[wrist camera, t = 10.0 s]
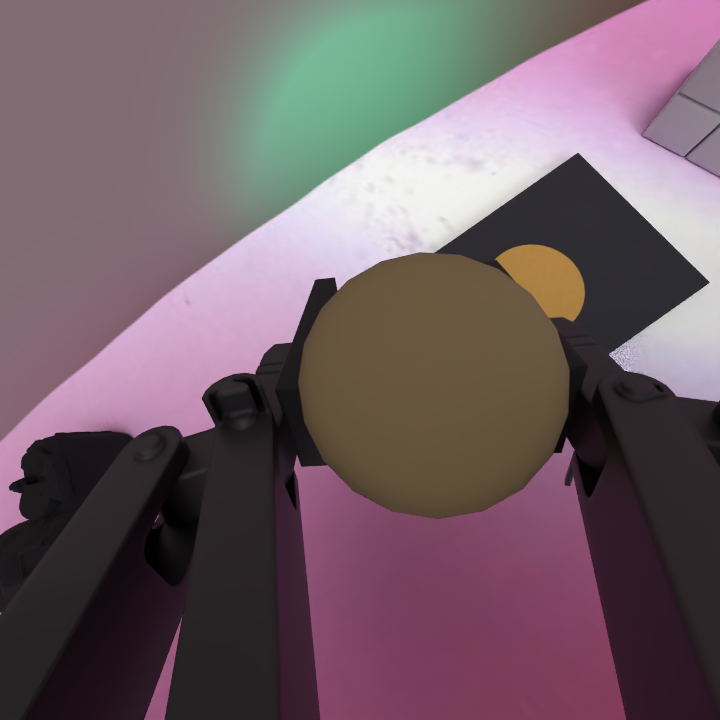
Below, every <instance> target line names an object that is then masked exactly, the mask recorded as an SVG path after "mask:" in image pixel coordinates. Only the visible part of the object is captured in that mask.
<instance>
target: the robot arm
mask: <svg viewBox="0 0 720 720" xmlns="http://www.w3.org/2000/svg"><path fill="white" fill-rule="evenodd" d="M481 263H484V264H486V265H489V266H492V267H495V268H497V269H499V270H500V271H502V272H503V273H504V274H506V275H507V276H508V277H510V278H511V279H512V280H514V279H513V278H512V277H511V276H510V275H509V273H508V272H507V271H506V270H505V269H504V268H503V267H502V265H501V264H500V263H499V262H498V261H497V260H490V261H481ZM514 281H515V280H514ZM336 292H337V287H336V281H335V278H326V279H317V280H315V282H314V285H313V288H312V291H311V293H310V296H309V299H308V301H307V304H306V307H305V309H304V312H303V315H302V318H301V320H300V323H299V326H298V328H297V331H296V334H295V337H294V339H293V342H292V343H284V344H275V345H273V346H272V347H271V348H270V349H269V350H268V351H267V352H266V353H265V354H264V356H263V358H262V360H261V362H260V366H258V368H257V371H256V375H254V374H249V373H240V374H233V375H230V376H228V377H225V378H222V379H221V380H219V381H217V382H215V383H214V384H212V385H211V386H210V387H209V388H208V389H207V390H206V391H205V393H204V395H203V397H202V400H203V402H204V404H205V406H206V408H207V410H208V412H209V414H210V416H211V418H212V420H213V421H214V423H215V427H214V428H212V429H209V430H206V431H203V432H200V433H197V434H193V435H190V436H187V437H183V436H182V434H181V433H180V431H179V430H178V429H177V428H175V427H173V426H160V427H156V428H152V429H150V430H148V431H145V432H143V433H141V434H140V435H138V436H137V437H135V438H134V439H132V440H131V441H130V442H129V443H128V444H127V445H126V446H125V447H124V448H123V449H122V451H121V452H120V453H119V455H118V456H117V457H116V459H115V460H114V461H113V463H112V464H111V465H110V467H109V468H108V470H107V471H106V472H105V474H104V475H103V476H102V478H101V479H100V480H99V482H98V483H97V484H96V486H95V487H94V488H93V490H92V491H91V493H90V494H89V495H88V497H87V498H86V499H85V501H84V502H83V503H82V505H81V506H80V507H79V509H78V510H77V512H76V513H75V514H74V516H73V517H72V518H71V520H70V521H69V522H68V524H67V525H66V526H65V528H64V529H63V531H62V532H61V533H60V535H59V536H58V537H57V539H56V540H55V541H54V543H53V544H52V545H51V547H50V548H49V550H48V551H47V552H46V554H45V555H44V556H43V558H42V559H41V560H40V562H39V563H38V564H37V566H36V567H35V569H34V570H33V571H32V573H31V574H30V575H29V577H28V578H27V579H26V581H25V582H24V583H23V585H22V586H21V588H20V589H19V590H18V592H17V593H16V594H15V596H14V597H13V598H12V600H11V601H10V602H9V604H8V605H7V607H6V608H5V609H4V611H3V612H2V613H1V615H0V720H144V718H145V715H146V712H147V710H148V707H149V704H150V702H151V699H152V696H153V693H154V691H155V688H156V685H157V683H158V680H159V677H160V674H161V672H162V669H163V666H164V664H165V661H166V658H167V655H168V653H169V650H170V647H171V645H172V642H173V639H174V636H175V634H176V631H177V628H178V626H179V623H180V620H181V617H182V622H181V628H180V633H179V639H178V645H177V651H176V657H175V662H174V668H173V674H172V680H171V686H170V691H169V697H168V703H167V709H166V715H165V720H320V712H319V702H318V691H317V680H316V670H315V659H314V649H313V638H312V627H311V617H310V606H309V596H308V585H307V575H306V564H305V553H304V543H303V532H302V522H301V511H300V501H299V490H298V480H297V477H296V474H295V471H294V465H295V460H296V456H297V455H298V458H299V461H300V464H301V467H304V466H323V465H327V464H326V463H325V462H324V460H323V459H322V457H321V455H320V453H319V451H318V449H317V447H316V445H315V443H314V441H313V439H312V437H311V435H310V433H309V431H308V429H307V427H306V425H305V423H304V417H303V410H302V404H301V398H300V391H299V385H298V380H299V374H300V367H301V360H302V354H303V347H304V343H305V341H306V339H307V337H308V335H309V333H310V330H311V328H312V326H313V324H314V322H315V320H316V318H317V316H318V314H319V312H320V310H321V308H322V307H323V306H324V305H325V304H326V303H327V302H328V301H329V300H330V299H331V298H332V297H333V296H334V295H335V294H336ZM549 319H550V320H551V322H552V323H553V324H554V326H555V327H556V329H557V331H558V335H559V338H560V341H561V344H562V347H563V351H564V354H565V357H566V360H567V363H568V367H569V370H570V373H569V408H568V416H567V419H566V421H565V424H564V426H563V429H562V431H561V434H560V437H559V439H558V442H557V444H556V447H555V449H554V452H553V453H561V452H562V449H563V446H564V443H565V440H566V436H567V438H568V440H569V441H570V443H571V445H572V446H573V448H574V449H575V451H574V453H573V456H572V459H571V462H570V465H569V468H568V471H567V474H566V477H565V485H566V486H570V484H571V481H572V478H573V476H574V480H575V485H576V490H577V494H578V499H579V503H580V508H581V513H582V517H583V522H584V526H585V531H586V536H587V540H588V545H589V549H590V554H591V559H592V563H593V568H594V572H595V577H596V582H597V586H598V591H599V595H600V600H601V605H602V609H603V614H604V618H605V623H606V628H607V632H608V637H609V641H610V646H611V651H612V655H613V660H614V664H615V669H616V674H617V678H618V683H619V687H620V692H621V697H622V701H623V706H624V710H625V715H626V720H720V401H719V402H715V401H707V400H699V399H691V398H683V397H677V396H675V394H674V393H673V392H672V391H671V390H670V389H669V388H668V387H667V386H666V385H665V384H663V383H661V382H660V381H658V380H656V379H654V378H652V377H649V376H646V375H643V374H639V373H633V372H627V371H624V370H623V369H622V368H621V367H620V366H619V365H618V364H617V363H616V362H615V361H614V360H613V359H612V358H611V357H610V356H609V355H608V354H607V353H606V352H605V351H604V350H603V349H602V348H601V347H600V346H599V345H597V343H596V342H595V341H594V340H593V339H592V338H591V337H589V336H588V334H587V333H586V332H585V331H584V330H583V329H582V328H581V327H580V326H579V325H578V324H576V323H574V322H572V321H570V320H568V319H566V318H564V317H555V318H549ZM158 515H159V517H158V519H157V521H156V522H155V520H156V518H157V516H158ZM154 522H155V524H154V525H153V523H154ZM152 525H153V526H152ZM151 527H152V528H151ZM182 615H183V616H182Z"/></svg>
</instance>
